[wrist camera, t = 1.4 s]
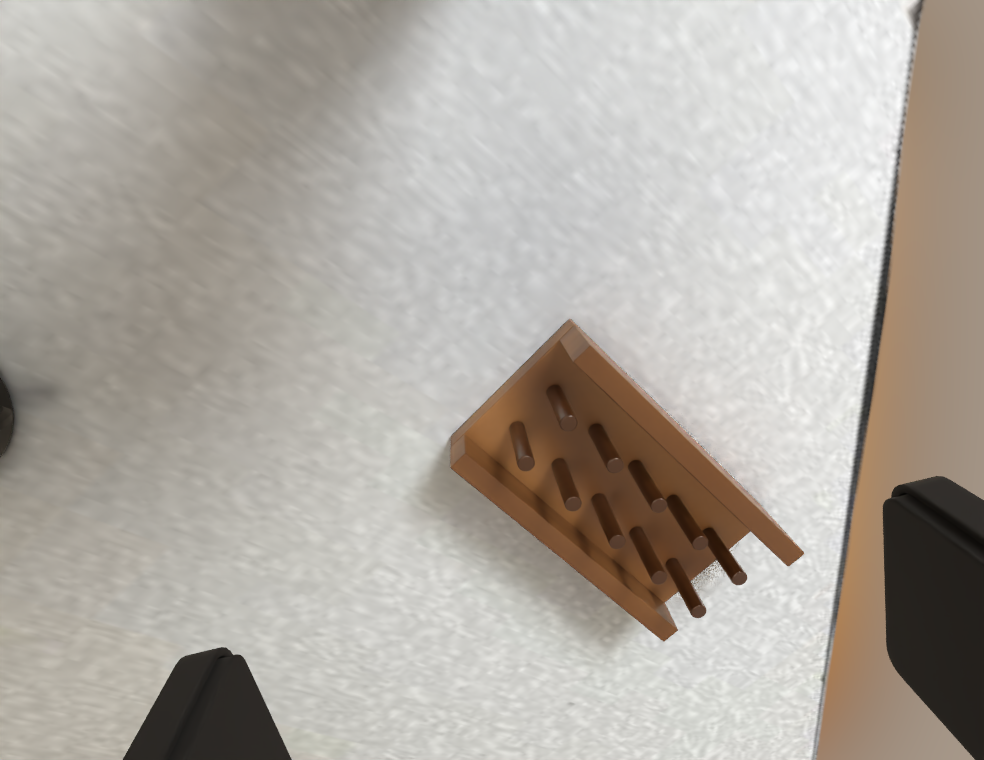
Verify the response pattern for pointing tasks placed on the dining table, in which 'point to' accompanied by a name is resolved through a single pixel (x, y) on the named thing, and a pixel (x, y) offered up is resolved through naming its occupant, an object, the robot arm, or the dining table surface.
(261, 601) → the dining table surface
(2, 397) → the mug
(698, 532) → the rack
